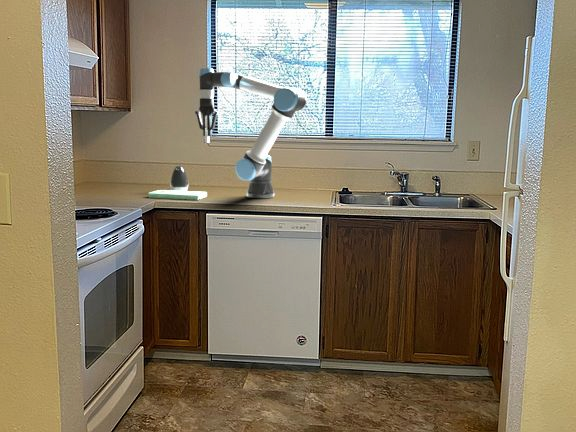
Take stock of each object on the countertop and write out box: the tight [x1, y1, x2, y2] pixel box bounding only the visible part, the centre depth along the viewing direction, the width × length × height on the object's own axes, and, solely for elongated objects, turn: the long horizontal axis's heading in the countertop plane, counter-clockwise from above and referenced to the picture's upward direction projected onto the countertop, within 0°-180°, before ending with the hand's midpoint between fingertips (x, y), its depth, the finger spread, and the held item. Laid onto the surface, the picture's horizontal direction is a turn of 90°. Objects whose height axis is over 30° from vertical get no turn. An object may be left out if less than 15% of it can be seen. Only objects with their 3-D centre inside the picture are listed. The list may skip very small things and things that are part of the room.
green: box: [147, 189, 208, 201], centre depth 320 cm, size 28×14×2 cm, turn 78°
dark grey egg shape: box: [169, 165, 190, 191], centre depth 336 cm, size 10×10×15 cm
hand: (207, 142), depth 320 cm, fingers closed
